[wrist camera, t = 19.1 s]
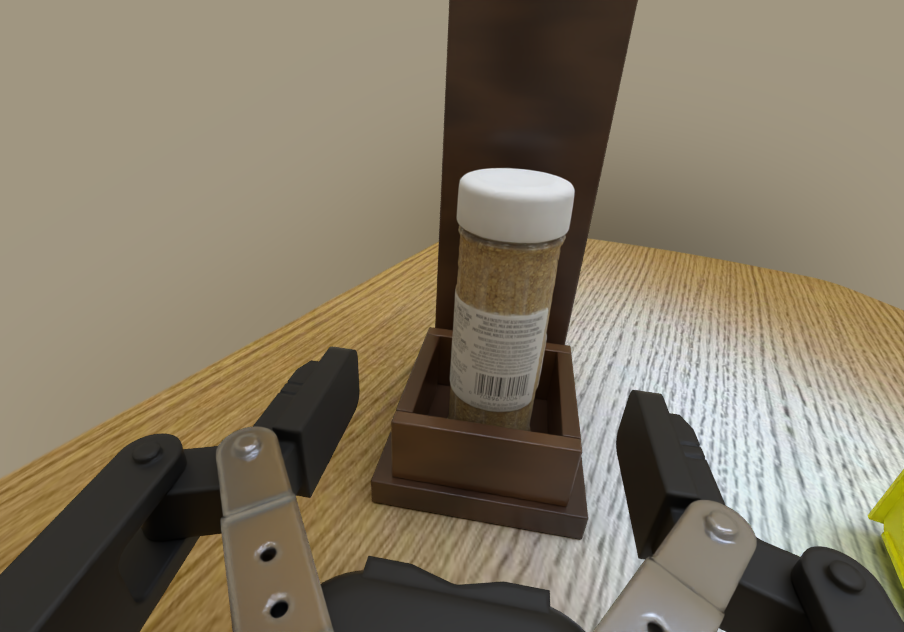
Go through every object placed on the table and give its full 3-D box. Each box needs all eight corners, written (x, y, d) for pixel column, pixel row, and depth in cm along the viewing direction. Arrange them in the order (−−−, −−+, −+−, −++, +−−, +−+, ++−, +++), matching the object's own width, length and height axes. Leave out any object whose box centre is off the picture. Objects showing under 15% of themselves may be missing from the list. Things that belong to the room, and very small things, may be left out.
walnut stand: (371, 502, 22) (344, -69, 11) (424, 361, 32) (435, -9, 22) (582, 540, 21) (768, -55, 10) (567, 381, 31) (653, 2, 21)
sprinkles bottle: (533, 413, 26) (578, 171, 19) (523, 474, 22) (576, 198, 16) (455, 397, 27) (473, 160, 20) (432, 453, 23) (445, 183, 16)
